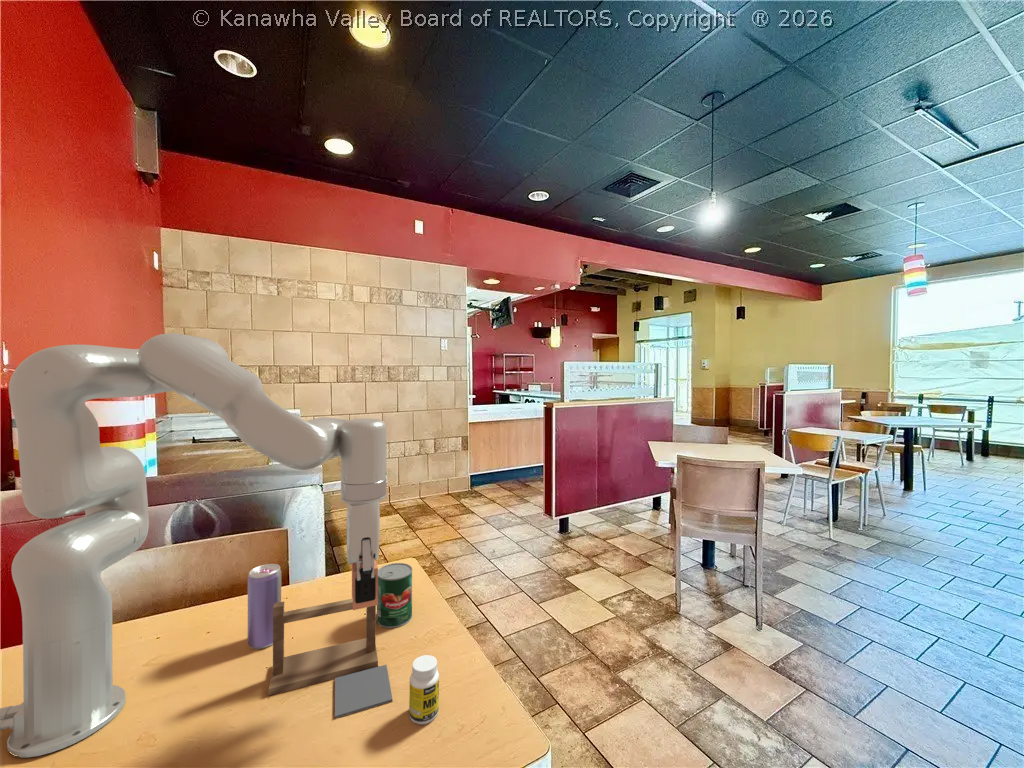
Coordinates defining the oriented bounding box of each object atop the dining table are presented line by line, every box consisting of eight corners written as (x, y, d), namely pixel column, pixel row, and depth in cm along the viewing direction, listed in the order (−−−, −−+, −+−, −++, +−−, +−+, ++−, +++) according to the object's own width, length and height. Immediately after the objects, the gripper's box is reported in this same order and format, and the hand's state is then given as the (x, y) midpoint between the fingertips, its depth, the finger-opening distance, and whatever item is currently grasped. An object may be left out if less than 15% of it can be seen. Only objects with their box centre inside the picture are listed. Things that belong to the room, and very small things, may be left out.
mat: (334, 718, 65) (334, 716, 65) (335, 680, 73) (335, 678, 73) (392, 701, 69) (392, 699, 69) (386, 666, 77) (386, 664, 77)
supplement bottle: (424, 730, 63) (424, 677, 63) (403, 717, 66) (403, 665, 66) (444, 709, 67) (445, 659, 67) (424, 697, 70) (424, 649, 70)
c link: (352, 610, 68) (352, 572, 68) (351, 594, 73) (351, 559, 72) (377, 604, 69) (377, 568, 69) (375, 590, 74) (375, 555, 74)
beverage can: (265, 652, 81) (265, 578, 80) (240, 648, 82) (240, 574, 82) (287, 634, 86) (287, 564, 86) (263, 630, 88) (264, 561, 87)
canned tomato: (397, 604, 98) (397, 559, 98) (419, 615, 94) (419, 568, 93) (369, 620, 92) (369, 572, 92) (391, 633, 87) (391, 582, 87)
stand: (268, 695, 70) (269, 617, 70) (275, 665, 77) (275, 594, 77) (377, 666, 77) (378, 596, 77) (374, 641, 84) (374, 577, 84)
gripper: (340, 480, 77) (340, 574, 77) (341, 506, 61) (341, 625, 62) (381, 476, 80) (381, 567, 80) (392, 501, 64) (392, 613, 65)
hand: (364, 591), depth 71 cm, fingers closed on c link, 5 cm apart
